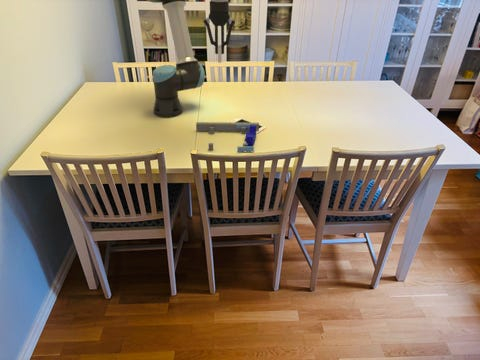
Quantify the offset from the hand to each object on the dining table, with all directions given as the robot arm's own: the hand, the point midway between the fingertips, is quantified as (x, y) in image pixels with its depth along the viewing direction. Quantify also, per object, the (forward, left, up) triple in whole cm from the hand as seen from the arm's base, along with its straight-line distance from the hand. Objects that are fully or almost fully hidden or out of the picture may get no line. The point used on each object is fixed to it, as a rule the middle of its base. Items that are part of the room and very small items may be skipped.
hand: (219, 61), depth 145 cm
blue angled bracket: (+13, -13, -33) cm, 38 cm away
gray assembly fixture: (+4, -12, -32) cm, 35 cm away
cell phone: (+13, +4, -33) cm, 36 cm away
